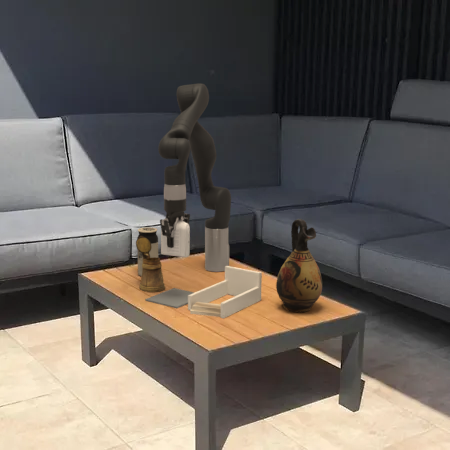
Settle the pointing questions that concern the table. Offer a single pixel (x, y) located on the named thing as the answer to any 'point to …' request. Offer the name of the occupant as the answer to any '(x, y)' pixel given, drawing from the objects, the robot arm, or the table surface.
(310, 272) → the ceramic jug
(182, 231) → the photo printer
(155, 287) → the wooden mug
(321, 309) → the table surface
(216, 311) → the offcut stack
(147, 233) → the travel mug
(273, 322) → the table surface
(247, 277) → the rack
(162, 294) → the mat
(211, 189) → the robot arm
